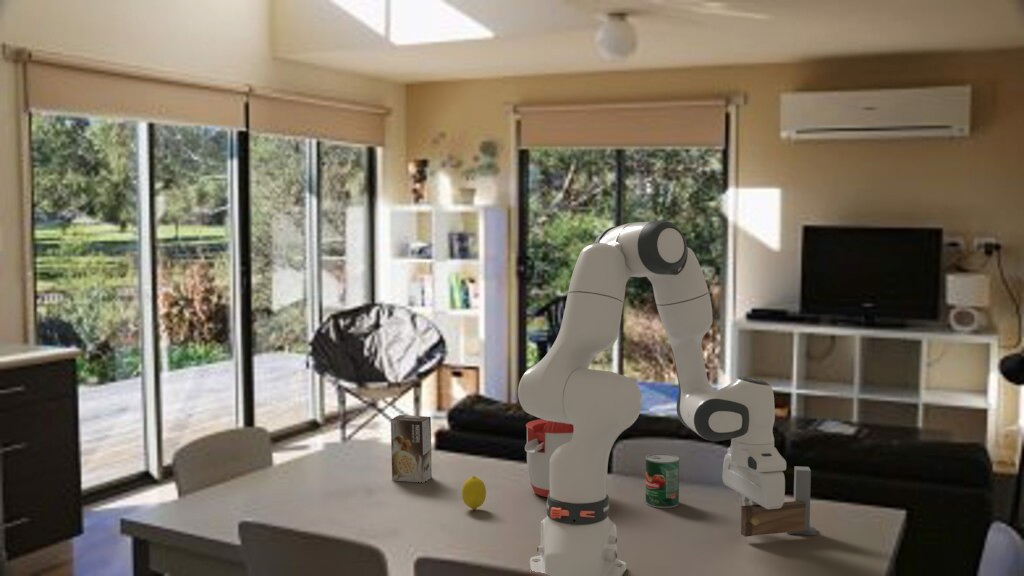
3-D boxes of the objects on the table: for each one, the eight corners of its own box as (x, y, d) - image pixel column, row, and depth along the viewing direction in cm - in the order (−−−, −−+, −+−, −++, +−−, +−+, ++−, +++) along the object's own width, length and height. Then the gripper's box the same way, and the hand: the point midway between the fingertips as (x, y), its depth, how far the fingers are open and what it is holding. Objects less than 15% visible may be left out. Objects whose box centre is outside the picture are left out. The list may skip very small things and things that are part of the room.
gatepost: (816, 535, 206) (818, 470, 205) (787, 533, 207) (789, 469, 205) (813, 529, 210) (815, 465, 208) (785, 527, 211) (786, 464, 209)
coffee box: (433, 477, 251) (432, 416, 250) (423, 483, 245) (423, 421, 244) (400, 474, 254) (399, 414, 252) (390, 480, 248) (389, 419, 246)
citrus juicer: (507, 493, 237) (507, 412, 235) (557, 480, 248) (558, 403, 246) (551, 507, 225) (551, 423, 223) (602, 493, 236) (603, 413, 235)
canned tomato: (683, 501, 230) (684, 456, 229) (671, 510, 223) (672, 463, 222) (652, 496, 234) (653, 451, 233) (639, 504, 227) (640, 459, 226)
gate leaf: (809, 533, 202) (809, 505, 202) (748, 539, 199) (749, 510, 198) (800, 528, 206) (801, 500, 205) (740, 533, 202) (741, 505, 202)
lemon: (482, 514, 220) (482, 479, 220) (459, 512, 221) (459, 478, 221) (488, 507, 226) (488, 473, 225) (465, 505, 227) (465, 472, 226)
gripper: (715, 443, 213) (714, 504, 214) (763, 466, 193) (761, 533, 194) (741, 441, 215) (740, 502, 216) (791, 464, 195) (789, 531, 196)
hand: (750, 517), depth 205 cm, fingers closed
